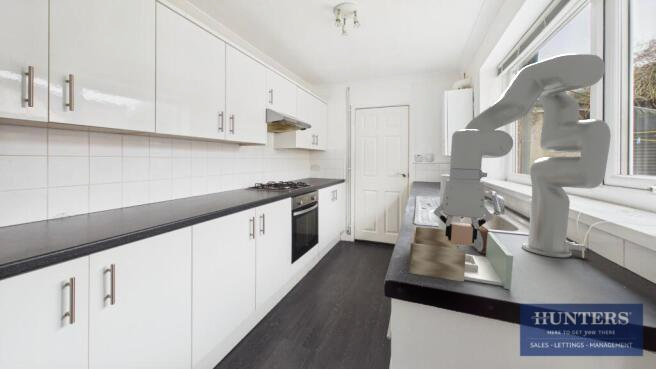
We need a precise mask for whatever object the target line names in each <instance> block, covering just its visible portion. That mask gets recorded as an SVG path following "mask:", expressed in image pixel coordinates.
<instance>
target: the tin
mask: <svg viewBox="0 0 656 369" xmlns="http://www.w3.org/2000/svg"><path fill="white" fill-rule="evenodd" d="M469 224H471V226H472V222H471V223H469ZM487 232H490V231H489V229H488V228H487V227H485V226H484V225H482V226H480V227H479V229H477V240H474V243H472V246H471V247H472V248H473V249H474V250H476V252H477V253H479V254H482V255H486V247H487Z"/></svg>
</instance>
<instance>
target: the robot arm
mask: <svg viewBox="0 0 656 369" xmlns="http://www.w3.org/2000/svg"><path fill="white" fill-rule="evenodd" d="M605 70H606V65H605V62H604V60H603V59H602V57H600V56H599V55H597V54H592V53H591V54H590V53H585V54H584V53H565V54H560V55H556V56H553V57H550V58H546V59H543V60H540V61H537V62H535V63H534V62H533V63H531V64H529V65H526V66H525V67H523V68H522V69H520V70H519V71H518V72H517V74H516V75H515V76H514V78H513V79H512V80H511V82H510V83H509V85H508V86H507V88H506V89H505V91H504V92H503V93H502V94H501V96H500V98H499V99H498V100H497V101H496V102H495V103H493V104H492V105H490V106H488V107H487V108H486V109H484V110H483V111H481V112H480V113H479V114H478V115H476V116H474V118H473V119H471V120H470V121H469V123H467V125H466V126H465V127H464V129H458V130H455V131H454V132H453V134H452V136H451V144H450V145H451V146H450V150H451V151H450V162H449V163H450V164H449V175H450V177H449V180H446V183H445V187H444V194H443V202H442V203H441V204H440V203H439V205H438V206H437V207H436V208H435V209H434V210H433V215H435V216H436V217H437V218H438V219H439V218H440V219H441V220H442V221H443V222H444V223H445V224H446V234H445V236H448V240H451V232H452V226H451V221H452V219H453V216H457V217H461V218H470V219H471V223H472V227H473V236H472V243H474V240H477V229H479V227H480V226H484V225H485V224H486V223H488V222H490V221H491V220H493V219H494V216H493V214H492V213H491V212H490V211H489V210H488V208H487V207H486V206H485V186H484V185H485V184H484V181H482V178H487V177H488V172H487V171H483V169H482V162H483V159H497V158H502V157H505V156H506V155H508V154H509V153H510V152H511V151H512V149H513V147H514V140H513V137H512V136H511V135H510V133H508V132H506V131H505V130H501V129H499V128H502V127H504V126H507V125H510V124H512V123H515V122H516V121H519V120H521V119H523V118H525V117H526V116H527V114H529V113H530V111H531V109H532V108H533V107H534V105H535V103H536V102H537V100H538V101H539V102H540V103H541V105H542V108H543V119H542V126H541V132H540V141H539V142H540V148H541V149H542V151H544V152H546V153H555V154H556V153H580V156H546V157H542V158H541V157H540V158H538V159H536V160H534V161H533V163H532V164H531V166H530V168H529V169H530V170H529V174H530V180H531V201H530V202H531V204H530V206H531V207H530V213H529V214H530V216H529V227H528V240H527V241H526V242H523V243H521V244H522V245H521V247H522V249H524V250H525V251H527V252H530V253H532V254H533V253H534V254H537V255H541V256H544V257H545V256H547V257H553V258H560V259H562V258H570V257H571V256H572V254H573V253H572V251H573V250H577V251H583V252H585V251H587V250H586V249H587V248H586V245H585V244H583V243H576V242H570V241H569V240H567V233H568V223H569V215H570V205H571V204H570V203H571V202H570V198H569V196H568V194H567V191H565V190H564V188H571V189H595V188H598V187H599V186H601V184H602V183H603V182H604V179H605V176H606V172H607V164H608V159H609V158H608V157H609V152H610V151H609V150H610V146H611V135H612V134H611V133H612V132H611V129H610V127H609V124H608V123H607V122H606V121H604V120H603V119H594V118H593V119H583V120H582V119H581V120H579V118H580V117H579V116H580V109H581V108H580V104H579V102H578V100H576V99H575V97H573V96H572V95H571V94H570V93H568V92H569V91H575V90H578V89H584V88H587V87H589V88H590V87H592V86H594V85H596V84H597V83H599V82H600V81H601V80H602V78H603V77H604V74H605ZM441 211H443V213H444V214H445V215H447V218H446V217H445V216H444V215H442V214H441V213H440V212H441Z"/></svg>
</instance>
